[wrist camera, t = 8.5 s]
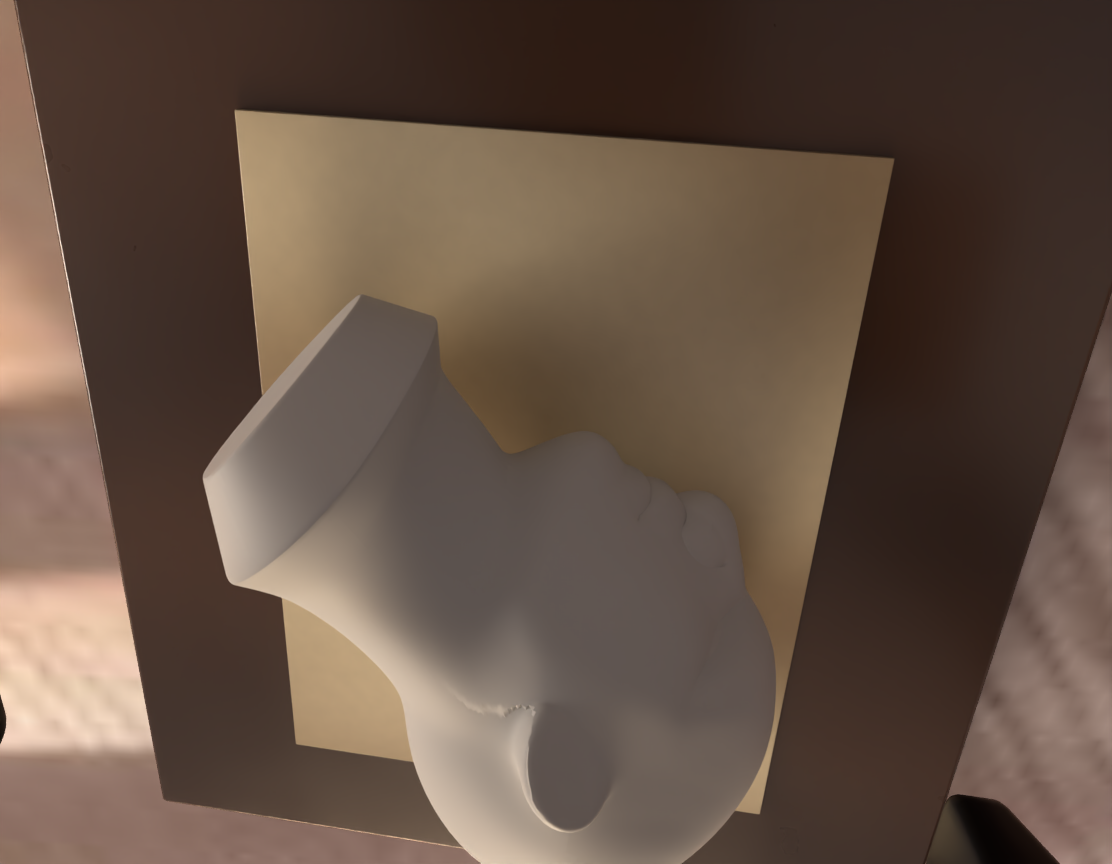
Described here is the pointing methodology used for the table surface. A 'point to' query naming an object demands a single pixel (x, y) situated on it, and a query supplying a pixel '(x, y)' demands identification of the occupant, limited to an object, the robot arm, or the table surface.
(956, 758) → the flat display stand
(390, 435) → the smooth white sculpture
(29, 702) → the table surface
